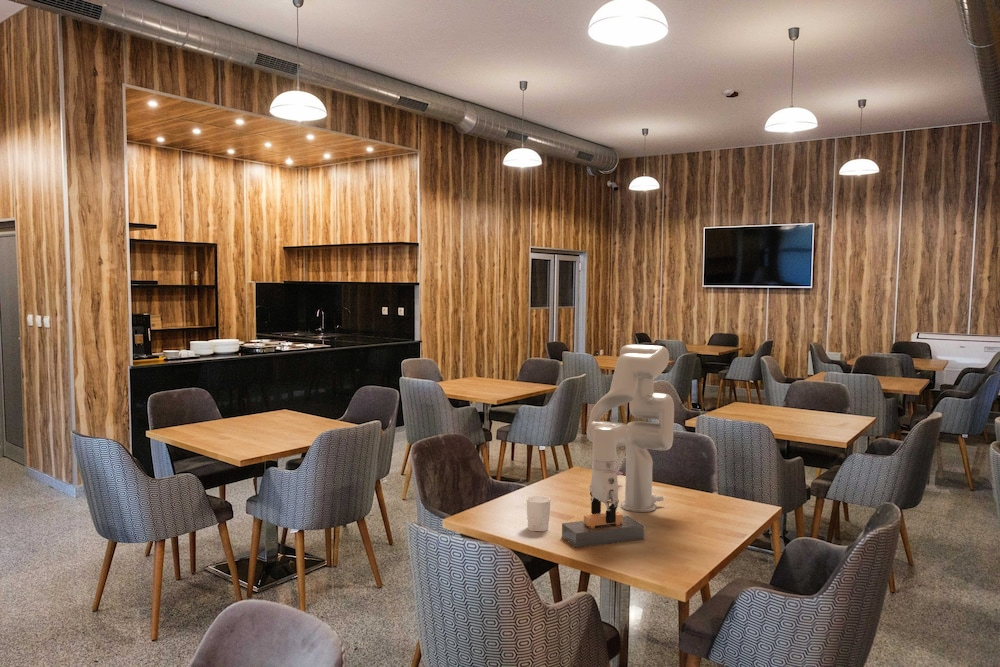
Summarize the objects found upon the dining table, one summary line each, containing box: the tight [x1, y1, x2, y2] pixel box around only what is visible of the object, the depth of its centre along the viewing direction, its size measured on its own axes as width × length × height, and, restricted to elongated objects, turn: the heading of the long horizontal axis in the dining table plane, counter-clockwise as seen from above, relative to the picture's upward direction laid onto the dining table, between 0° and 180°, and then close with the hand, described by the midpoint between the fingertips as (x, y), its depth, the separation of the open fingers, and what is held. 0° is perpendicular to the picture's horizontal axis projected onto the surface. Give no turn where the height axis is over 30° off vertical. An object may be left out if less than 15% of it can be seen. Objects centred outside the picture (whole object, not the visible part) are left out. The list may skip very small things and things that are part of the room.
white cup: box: [526, 495, 551, 532], centre depth 233 cm, size 8×8×10 cm
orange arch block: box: [583, 511, 623, 529], centre depth 225 cm, size 12×4×8 cm, turn 111°
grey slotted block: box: [561, 515, 645, 548], centre depth 225 cm, size 24×10×4 cm, turn 110°
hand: (603, 518), depth 225 cm, fingers open, 9 cm apart
